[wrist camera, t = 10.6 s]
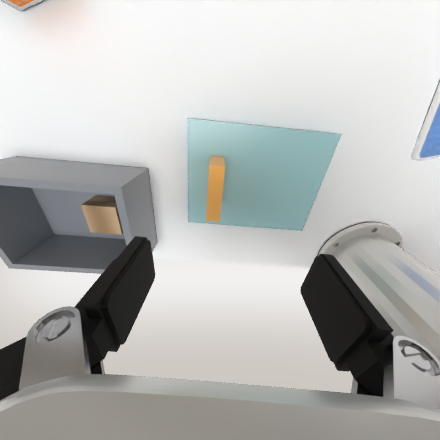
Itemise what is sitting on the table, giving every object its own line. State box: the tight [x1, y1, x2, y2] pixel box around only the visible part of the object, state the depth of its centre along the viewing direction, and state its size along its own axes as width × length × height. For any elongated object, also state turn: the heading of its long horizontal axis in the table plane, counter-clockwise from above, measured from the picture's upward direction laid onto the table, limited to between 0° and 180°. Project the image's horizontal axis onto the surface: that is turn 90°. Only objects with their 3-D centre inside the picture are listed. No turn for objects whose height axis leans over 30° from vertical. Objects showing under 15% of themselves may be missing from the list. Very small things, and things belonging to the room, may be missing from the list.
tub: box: [0, 156, 157, 274], centre depth 22 cm, size 16×12×7 cm
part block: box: [81, 195, 123, 235], centre depth 23 cm, size 4×4×3 cm
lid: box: [188, 118, 341, 230], centre depth 20 cm, size 17×13×6 cm
